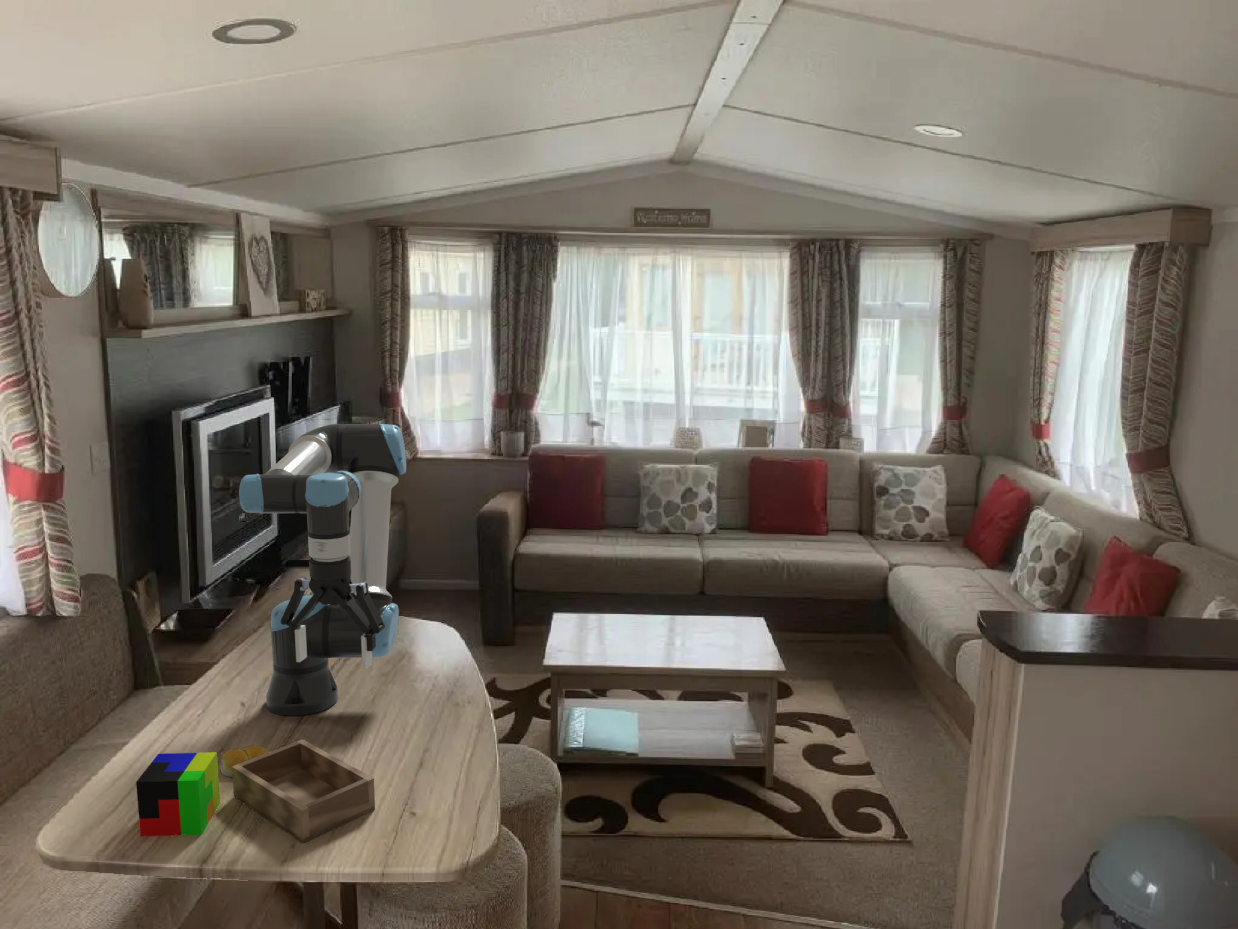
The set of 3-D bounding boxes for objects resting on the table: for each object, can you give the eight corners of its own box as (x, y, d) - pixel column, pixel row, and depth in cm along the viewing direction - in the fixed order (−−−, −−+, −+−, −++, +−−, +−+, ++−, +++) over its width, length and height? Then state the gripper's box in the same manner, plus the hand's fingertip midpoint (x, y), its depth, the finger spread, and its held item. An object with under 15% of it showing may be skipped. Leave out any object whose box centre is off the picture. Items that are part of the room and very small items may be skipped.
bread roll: (275, 770, 190) (274, 751, 189) (226, 783, 185) (224, 763, 184) (264, 753, 197) (263, 734, 196) (216, 764, 192) (215, 745, 191)
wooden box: (233, 797, 179) (231, 766, 178) (303, 768, 190) (302, 739, 189) (303, 843, 165) (301, 810, 164) (375, 809, 176) (374, 778, 175)
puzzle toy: (162, 805, 176) (158, 753, 175) (220, 804, 177) (216, 752, 175) (140, 837, 167) (136, 782, 165) (201, 835, 168) (198, 780, 166)
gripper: (258, 557, 185) (264, 664, 189) (383, 567, 180) (386, 676, 184) (279, 546, 192) (284, 649, 196) (400, 555, 187) (403, 661, 191)
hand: (334, 663), depth 190 cm, fingers open, 13 cm apart
